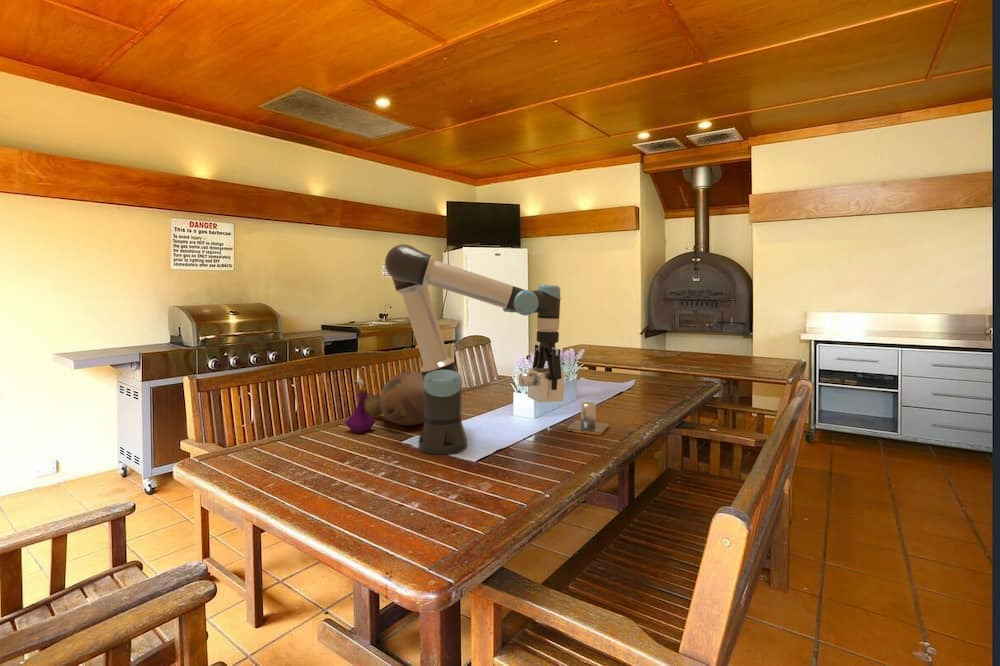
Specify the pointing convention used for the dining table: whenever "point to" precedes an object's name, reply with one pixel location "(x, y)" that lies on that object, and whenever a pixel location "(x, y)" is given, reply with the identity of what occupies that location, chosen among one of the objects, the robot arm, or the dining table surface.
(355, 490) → the dining table surface
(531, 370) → the collar
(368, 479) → the dining table surface
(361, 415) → the perfume bottle
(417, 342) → the robot arm
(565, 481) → the dining table surface
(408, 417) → the jug
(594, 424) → the duct stub
